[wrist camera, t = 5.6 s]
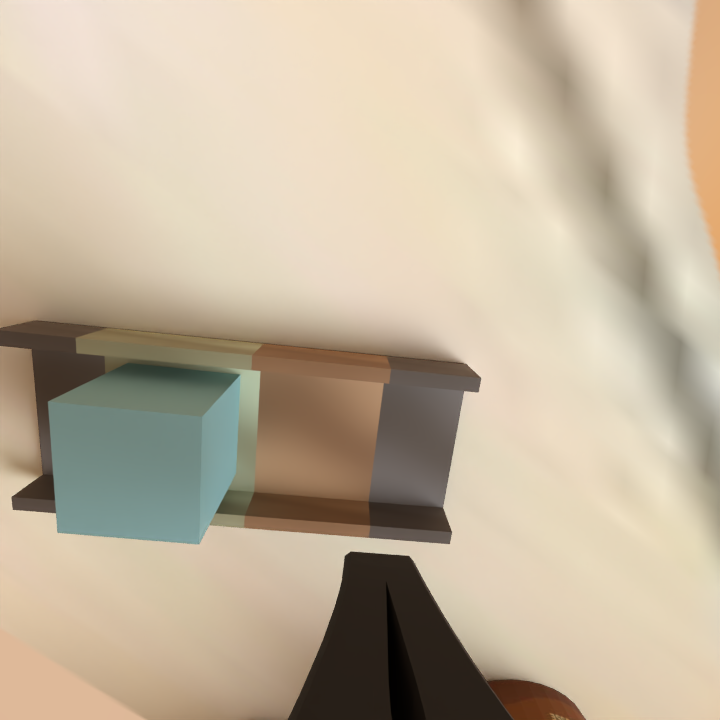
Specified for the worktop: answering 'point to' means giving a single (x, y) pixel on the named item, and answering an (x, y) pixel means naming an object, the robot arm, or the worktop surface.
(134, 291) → the worktop surface
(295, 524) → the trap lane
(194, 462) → the teal block
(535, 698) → the food container
